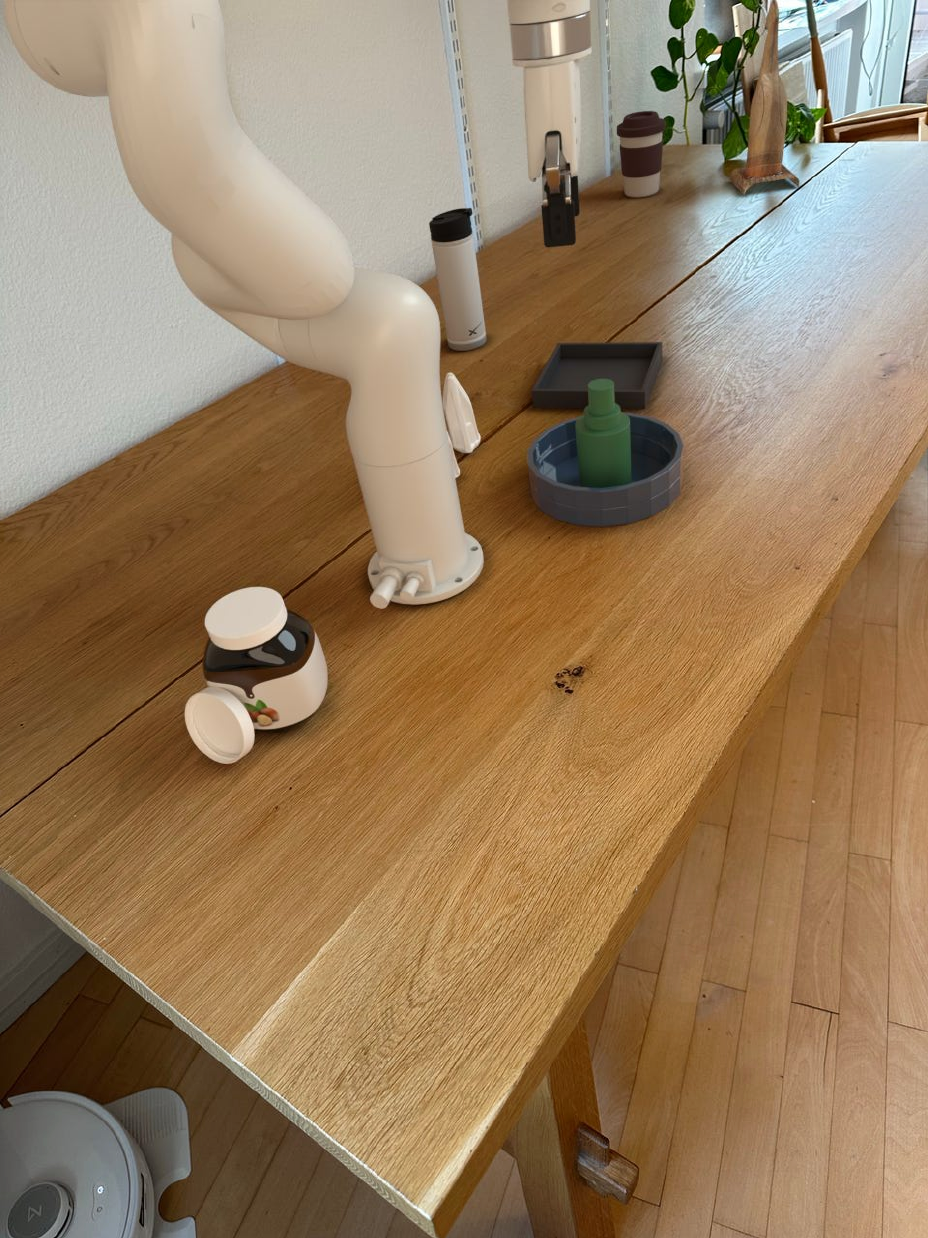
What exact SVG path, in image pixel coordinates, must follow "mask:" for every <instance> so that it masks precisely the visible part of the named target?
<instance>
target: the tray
mask: <svg viewBox="0 0 928 1238" xmlns="http://www.w3.org/2000/svg"><path fill="white" fill-rule="evenodd" d="M662 363H663V341H648V342H647V341H645V342H644V341H643V342H642V341H639V342H638V341H637V342H636V341H635V342H631V341H629V342H627V341H626V342H624V341H623V342H621V341H620V342H557V344H556V345H555V347H554V349H553V351H552V352H551V355H550V356H549V358H548V360H547V362H546V363H545V365H544V367H543V369H542V371H541V373H540V375H539V376H538V378H537V380H536V382H535V383H534V385H533V387H532V389H531V400H532V407H533V408H553V409H554V408H558V409H559V408H561V409H585V408H586V407H587V406H588V405H589V401H588V384H589V383H590V382H591V381H593V380H596V379H609V380H612V381H613V382H614V399H615V403H616V404H618V405H619V406H620V410H645V409H646V408H647V406H648V404H649V401H650V398H651V396H652V392H653V389H654V386H655V384H656V381H657V377H658V375H659V372H660V369H661V365H662Z"/></svg>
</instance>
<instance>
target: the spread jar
mask: <svg viewBox="0 0 928 1238" xmlns="http://www.w3.org/2000/svg"><path fill="white" fill-rule="evenodd" d="M204 627H205V629H206V631H207V635H208V638H207V641H206V643H205V647H204V649H203V655H202V674H203V677H204V681H205V683H206V685H207V687H205V688H203V689H201V690H200V691H198V692H196V693H195V694H193V695H192V696H190V697H189V699H188V700H187V701H186V703H185V707H184V722H185V725H186V729H187V732H188V734H189V736H190V738H191V740H192V741H193V743H194V745H196V747H197V748H198V749H199V750H200V751H201V752H202V754H203V755H205V756H206V757H208V758H209V759H211V760H212V761H214V762H216V763H220V764H223V765H224V764H225V765H229V764H233V763H236V762H237V761H239V760H240V759H242V758H243V757H245V756H246V755H247V754H248V753H250V752H251V750H252V749H253V746H254V743H255V733H257V734H263V735H275V734H282V733H286V732H289V731H292V730H295V729H296V728H298V727H300V726H302V725H304V724H305V723H307V722H308V721H310V720H311V719H312V718H313V717H314V716H315V715H316V713H317V712H318V711H319V709H320V708H321V706H322V704H323V702H324V699H325V697H326V694H327V689H328V683H329V682H328V681H329V678H328V677H329V675H328V665H327V661H326V657H325V655H324V654H325V653H324V651H323V647H322V644H321V643H320V639H319V636H318V634H317V633H316V630H315V629H314V627H313V625H312V623H311V622H309V620H307V618H305V617H304V616H303V615H301V614H299V613H298V612H296V611H293V610H292V609H289V608H287V607H286V605H285V602H284V599H283V597H282V595H281V594H280V593H279V592H278V591H277V590H275V589H272V588H269V587H266V586H265V587H264V586H251V587H245V588H240V589H238V590H235V591H232V592H230V593H228V594H226V595H224V596H222V597H221V598H220V599H218V600H217V601H216V602H215V603H213V604H212V606H211V607H210V608H209V609H208V610H207V612H206V614H205V617H204Z"/></svg>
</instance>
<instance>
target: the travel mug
mask: <svg viewBox="0 0 928 1238" xmlns="http://www.w3.org/2000/svg"><path fill="white" fill-rule="evenodd" d="M473 214H474V213H473V208H472V207H466V208H465V207H461V208H455V209H451V210H448V211H444V212H442V213H439V214H437V215H435V216H433V217H432V218H431V219H432V220H430V221H429V223H428V225H429V226H428V227H429V233H430V241H431V247H432V253H433V258H434V259H433V260H434V265H435V266H434V267H435V272H436V278H437V285H438V290H439V296H440V303H441V309H442V316H443V322H444V328H445V335H446V339H447V340H446V341H447V346H448V347H449V349H451V350H453V351H457V352H468V351H473V350H476V349H479V348H481V347H483V346H484V345H485V344H486V342H487V331H486V323H485V316H484V315H485V314H484V308H483V299H482V292H481V285H480V276H479V269H478V262H477V255H476V245H475V239H474V236H473V235H474V232H473V228H472V220H471V217H472V215H473Z"/></svg>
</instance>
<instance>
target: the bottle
mask: <svg viewBox="0 0 928 1238" xmlns="http://www.w3.org/2000/svg"><path fill="white" fill-rule="evenodd" d="M588 401H589V405H588V406H587V407H586V408H583V414H582V415H580V416H581V417H580V416H579V417H580V418H578V420H577V421H576V424H575V427H576V442H577V456H578V471H579V485H580V487H590V488H606V487H614V486H622V485H627V484H630V483H632V480H631V440H630V419H629V417H628V416H627V415H626V414H625V413H626V412H623V411H621V409H620V406H619V405H618V404H616V403H615V399H614V382H613V381H612V380H609V379H596V380H593V381H591V382H590V383H589V384H588Z"/></svg>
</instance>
